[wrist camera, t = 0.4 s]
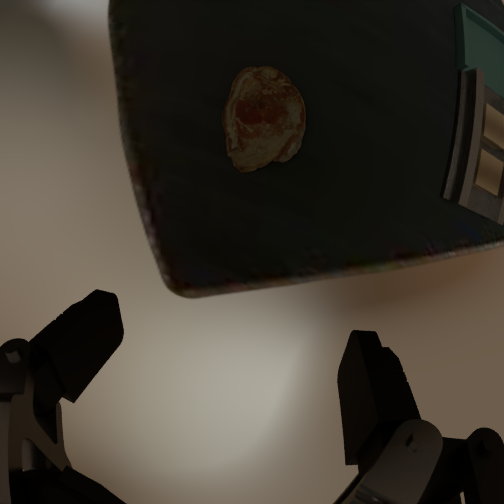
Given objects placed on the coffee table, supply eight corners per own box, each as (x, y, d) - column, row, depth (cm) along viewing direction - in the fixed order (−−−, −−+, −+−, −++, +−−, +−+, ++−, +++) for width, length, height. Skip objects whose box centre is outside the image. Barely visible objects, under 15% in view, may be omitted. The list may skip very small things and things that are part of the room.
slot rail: (458, 71, 24) (474, 65, 19) (505, 104, 23) (522, 102, 19) (439, 196, 31) (455, 202, 27) (488, 218, 30) (504, 226, 26)
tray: (453, 8, 19) (460, 2, 16) (504, 43, 18) (513, 40, 15) (455, 68, 23) (465, 64, 21) (507, 103, 23) (517, 102, 20)
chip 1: (475, 104, 24) (486, 103, 21) (496, 119, 24) (508, 119, 21) (472, 135, 26) (483, 135, 23) (493, 149, 26) (505, 150, 23)
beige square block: (470, 148, 27) (481, 148, 24) (491, 161, 26) (503, 162, 23) (463, 180, 28) (475, 183, 26) (485, 192, 28) (497, 196, 25)
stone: (310, 164, 33) (313, 165, 30) (232, 173, 34) (227, 175, 32) (295, 66, 28) (296, 58, 26) (218, 77, 30) (212, 70, 27)
